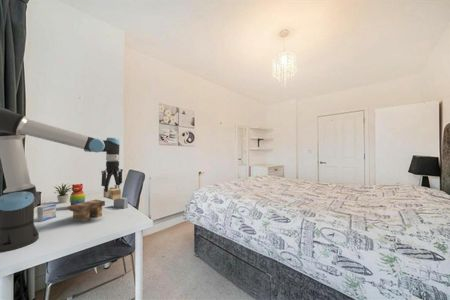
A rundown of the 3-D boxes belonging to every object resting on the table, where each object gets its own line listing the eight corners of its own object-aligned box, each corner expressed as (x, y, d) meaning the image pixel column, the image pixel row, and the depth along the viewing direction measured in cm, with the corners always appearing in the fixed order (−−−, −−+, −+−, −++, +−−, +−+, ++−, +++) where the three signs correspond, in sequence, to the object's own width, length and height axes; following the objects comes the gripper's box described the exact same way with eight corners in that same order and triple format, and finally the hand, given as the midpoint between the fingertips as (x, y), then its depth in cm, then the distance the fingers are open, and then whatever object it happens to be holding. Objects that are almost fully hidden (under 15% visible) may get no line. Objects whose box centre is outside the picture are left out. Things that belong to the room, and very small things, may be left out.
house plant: (58, 206, 146) (58, 185, 146) (45, 204, 149) (45, 184, 149) (77, 201, 160) (76, 182, 160) (64, 200, 163) (64, 181, 163)
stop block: (124, 208, 141) (124, 199, 141) (113, 206, 146) (113, 197, 146) (127, 207, 144) (127, 198, 144) (117, 205, 149) (117, 196, 149)
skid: (120, 198, 124) (120, 189, 124) (112, 199, 120) (112, 190, 120) (111, 195, 130) (111, 187, 130) (103, 197, 126) (103, 188, 126)
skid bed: (84, 221, 116) (84, 211, 116) (73, 218, 121) (73, 209, 121) (102, 215, 126) (102, 206, 126) (91, 213, 131) (91, 204, 131)
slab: (78, 212, 114) (78, 207, 114) (69, 210, 118) (69, 205, 118) (104, 205, 129) (104, 201, 129) (95, 203, 133) (95, 199, 133)
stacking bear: (66, 210, 137) (66, 185, 137) (71, 206, 146) (70, 183, 146) (84, 208, 141) (84, 184, 141) (87, 204, 150) (87, 182, 150)
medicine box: (42, 221, 116) (42, 207, 115) (37, 221, 116) (36, 207, 116) (56, 217, 123) (56, 203, 123) (51, 216, 124) (51, 203, 124)
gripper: (102, 161, 115) (101, 199, 115) (128, 160, 132) (128, 193, 132) (94, 161, 118) (93, 197, 118) (121, 160, 135) (120, 192, 135)
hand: (112, 195), depth 125 cm, fingers closed on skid, 5 cm apart
